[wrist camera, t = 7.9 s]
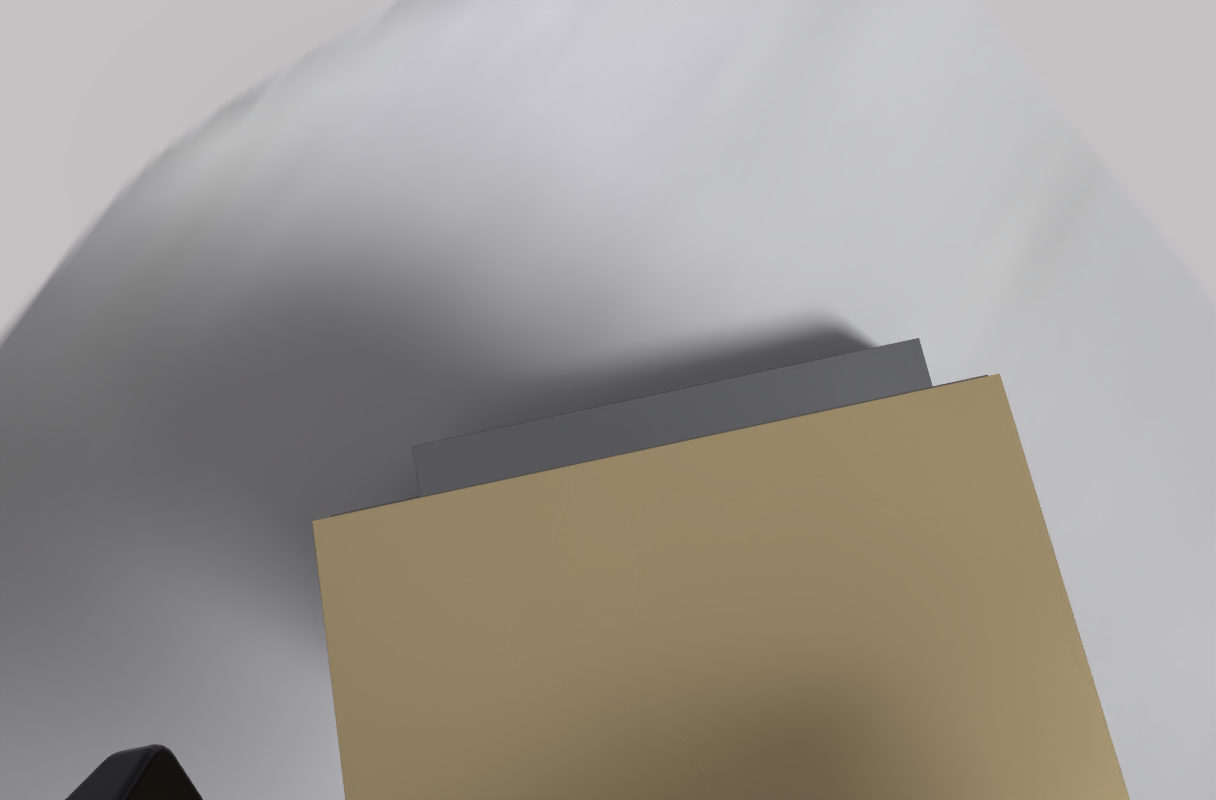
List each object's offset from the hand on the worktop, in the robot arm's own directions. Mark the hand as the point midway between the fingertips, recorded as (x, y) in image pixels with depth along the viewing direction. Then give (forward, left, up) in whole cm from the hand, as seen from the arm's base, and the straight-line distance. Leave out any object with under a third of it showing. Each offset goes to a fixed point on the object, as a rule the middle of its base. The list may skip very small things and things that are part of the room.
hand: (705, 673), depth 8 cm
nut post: (-1, 0, -9) cm, 9 cm away
